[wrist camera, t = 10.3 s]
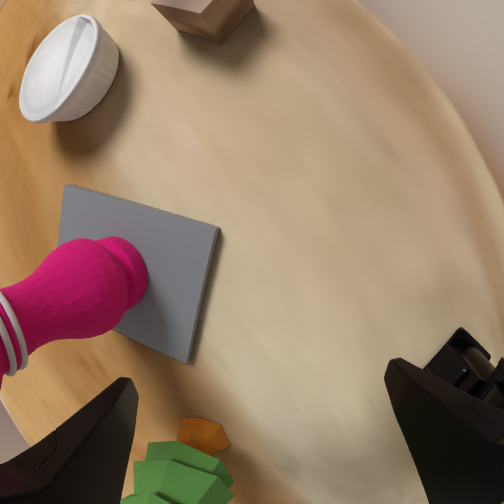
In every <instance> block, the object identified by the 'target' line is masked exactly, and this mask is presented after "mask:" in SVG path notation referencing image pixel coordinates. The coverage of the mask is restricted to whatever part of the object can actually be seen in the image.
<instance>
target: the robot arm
mask: <svg viewBox="0 0 504 504" xmlns="http://www.w3.org/2000/svg"><path fill="white" fill-rule="evenodd" d="M461 332H462V333H461ZM460 333H461V334H460ZM459 334H460V335H459ZM490 358H491V356H490V354H489V353H488V352H487V351H486V350H485V349H484V348H483V347H482V346H481V345H480V344H479V343H478V342H477V341H476V340H475V339H474V338H473V337H472V336H471V335H470V334H469V333H468V332H467V331H466V330H465V329H464V328H462V327H460V328H458V329H457V330H456V332H455V333H454V334H453V335H452V337H451V338H450V339H449V340H448V341H447V343H446V344H445V345H444V346H443V347H442V348H441V350H440V351H439V352H438V353H437V354H436V355H435V356H434V358H433V359H432V360H431V361H430V362H429V363H428V364H427V365H426V366H425V367H424V368H423V369H421V368H419V367H417V366H415V365H413V364H411V363H410V362H408V361H406V360H404V359H402V358H395V359H391V360H390V361H389V363H388V366H387V369H386V372H385V376H384V381H385V385H386V388H387V391H388V394H389V397H390V401H391V404H392V407H393V411H394V414H395V416H396V419H397V421H398V423H399V426H400V428H401V431H402V433H403V435H404V438H405V440H406V443H407V445H408V448H409V450H410V453H411V455H412V458H413V460H414V463H415V465H416V468H417V471H418V473H419V476H420V479H421V481H422V484H423V487H424V490H425V493H426V495H427V498H428V502H429V504H504V358H503V357H502V358H501V359H500V361H499V362H498V365H497V367H496V368H495V367H494V366H493V365H492V364H491V363H490V362H489V360H490ZM138 400H139V397H138V393H137V390H136V388H135V385H134V383H133V381H132V379H131V378H126V377H120V378H118V379H117V380H116V381H115V382H113V383H112V384H111V385H110V386H108V387H107V388H106V389H105V390H103V391H102V392H101V393H100V394H99V395H97V396H96V397H95V398H94V399H92V400H91V401H90V402H89V403H87V404H86V405H85V406H84V407H83V408H81V409H80V410H79V411H78V412H76V413H75V414H74V415H73V416H71V417H70V418H69V419H68V420H66V421H65V422H64V423H63V424H61V425H60V426H59V427H58V428H56V431H55V430H54V431H53V432H51V433H50V434H49V435H47V436H46V437H45V438H43V439H42V440H41V441H39V442H38V443H37V444H35V445H34V446H32V447H30V448H29V449H27V450H26V451H24V452H22V453H21V454H20V455H18V456H16V457H14V458H13V459H11V460H9V461H7V462H5V463H3V464H0V504H120V501H121V496H122V490H123V485H124V480H125V475H126V470H127V465H128V461H129V456H130V452H131V447H132V443H133V438H134V433H135V424H136V416H137V408H138Z"/></svg>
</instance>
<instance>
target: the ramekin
mask: <svg viewBox="0 0 504 504" xmlns="http://www.w3.org/2000/svg"><path fill="white" fill-rule="evenodd" d="M118 54H119V52H118V48H117V46H116V43H115V42H114V40H113V39H112V38H111V37H110V35H109V34H108V33H107V32H106V31H105V30H104V29H103V28H102V26H101V24H100V23H99V22H98V21H97V20H96V19H95V18H93V17H91V16H89V15H78V16H75V17H72V18H70V19H68V20H66V21H64V22H63V23H61V24H60V25H58V26H57V27H56V28H55V29H54V30H53V31H52V32H50V33H49V35H48V36H47V37H46V38H45V39H44V40H43V41H42V43H41V44H40V45H39V47H38V48H37V50H36V51H35V53H34V54H33V56H32V58H31V60H30V62H29V64H28V66H27V68H26V71H25V73H24V76H23V80H22V83H21V89H20V96H19V105H20V110H21V112H22V114H23V116H24V117H25V119H27V120H28V121H30V122H33V123H45V122H48V121H71V120H75V119H77V118H80V117H82V116H83V115H85V114H86V113H88V112H89V111H90V110H92V109H93V108H94V107H95V106H96V105H97V104H98V103H99V102H100V101H101V100H102V98H103V97H104V96H105V94H106V93H107V91H108V90H109V88H110V86H111V84H112V82H113V80H114V78H115V75H116V72H117V68H118V61H119V55H118Z"/></svg>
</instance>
